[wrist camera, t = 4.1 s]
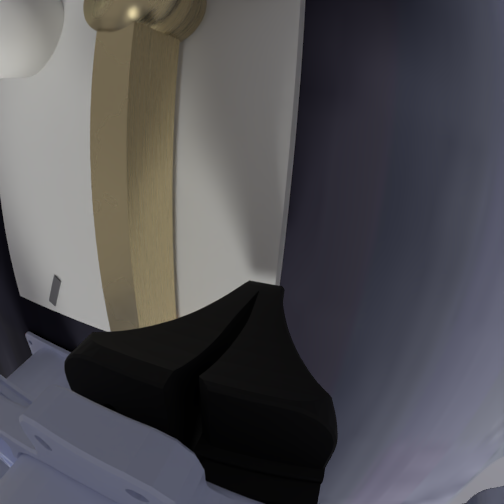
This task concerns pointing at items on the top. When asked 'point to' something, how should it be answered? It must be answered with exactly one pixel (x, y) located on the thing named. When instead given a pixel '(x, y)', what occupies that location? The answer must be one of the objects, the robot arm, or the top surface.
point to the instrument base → (184, 151)
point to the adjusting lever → (135, 152)
